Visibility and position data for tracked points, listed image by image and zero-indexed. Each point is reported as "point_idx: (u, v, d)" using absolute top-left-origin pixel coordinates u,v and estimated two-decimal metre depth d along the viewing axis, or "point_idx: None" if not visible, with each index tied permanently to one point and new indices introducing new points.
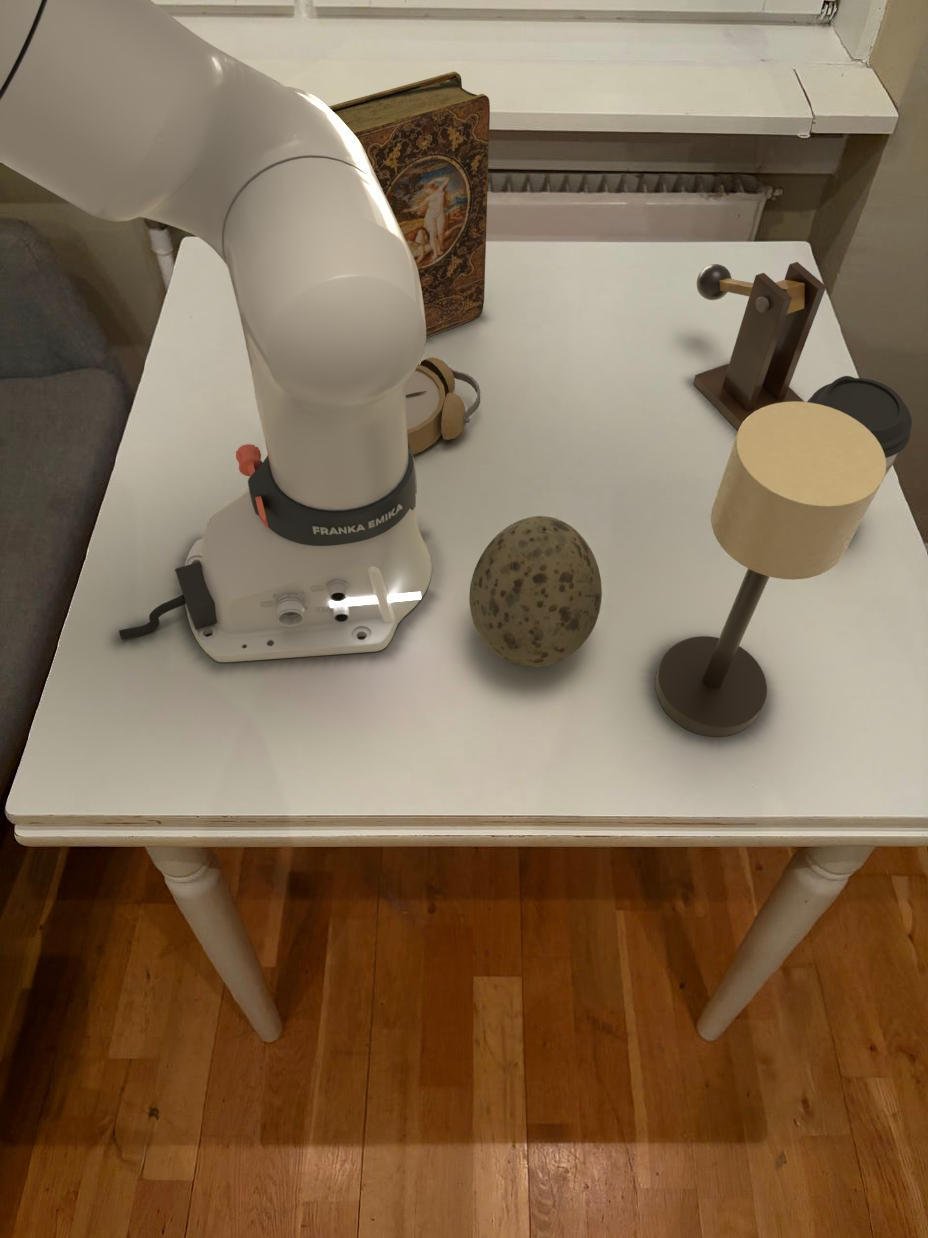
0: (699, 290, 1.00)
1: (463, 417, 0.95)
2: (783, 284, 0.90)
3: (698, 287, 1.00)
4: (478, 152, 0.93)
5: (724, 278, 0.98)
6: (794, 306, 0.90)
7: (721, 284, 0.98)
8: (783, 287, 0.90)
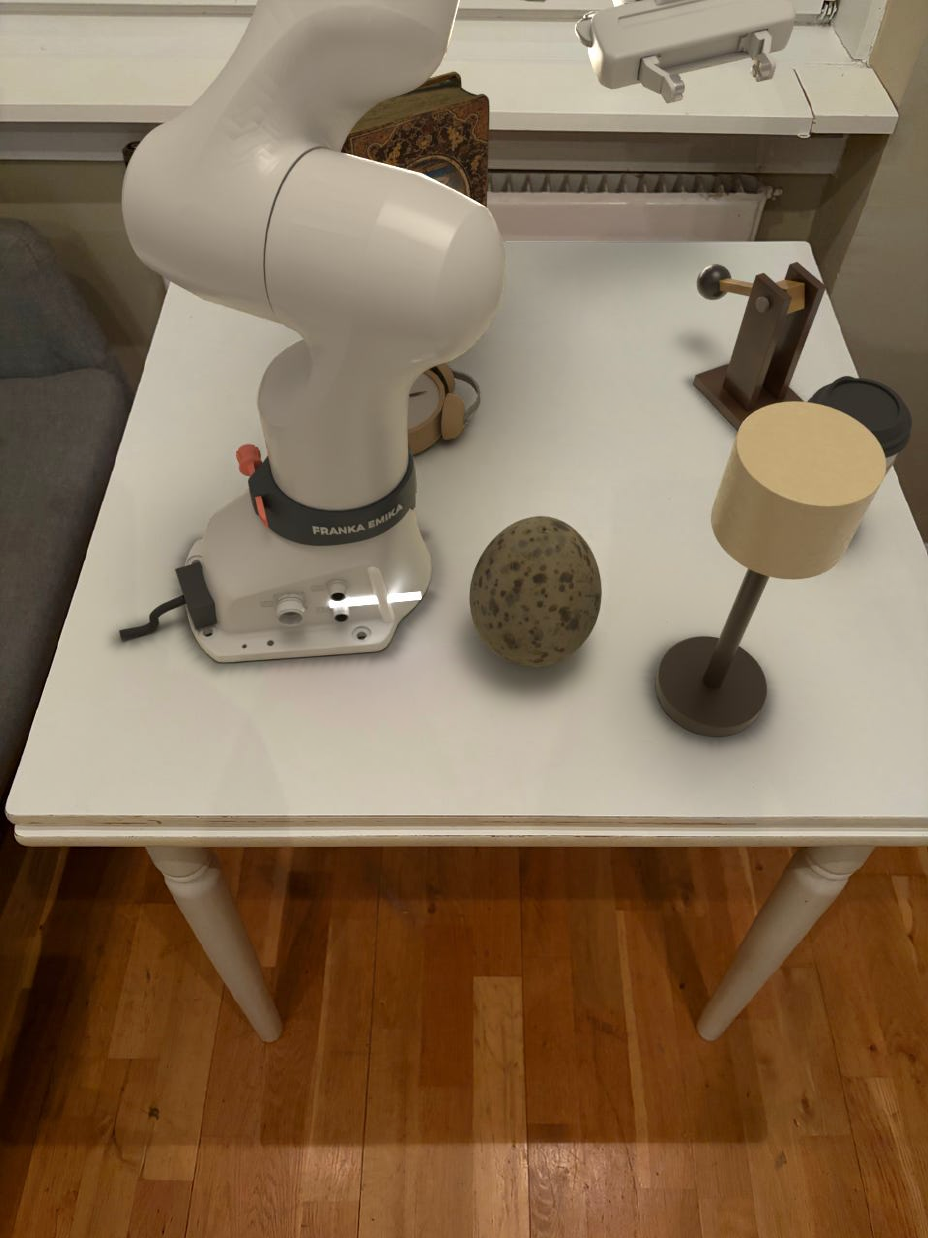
0: (699, 290, 1.00)
1: (463, 417, 0.95)
2: (783, 284, 0.90)
3: (698, 287, 1.00)
4: (478, 151, 0.93)
5: (724, 278, 0.98)
6: (794, 306, 0.90)
7: (721, 284, 0.98)
8: (783, 287, 0.90)
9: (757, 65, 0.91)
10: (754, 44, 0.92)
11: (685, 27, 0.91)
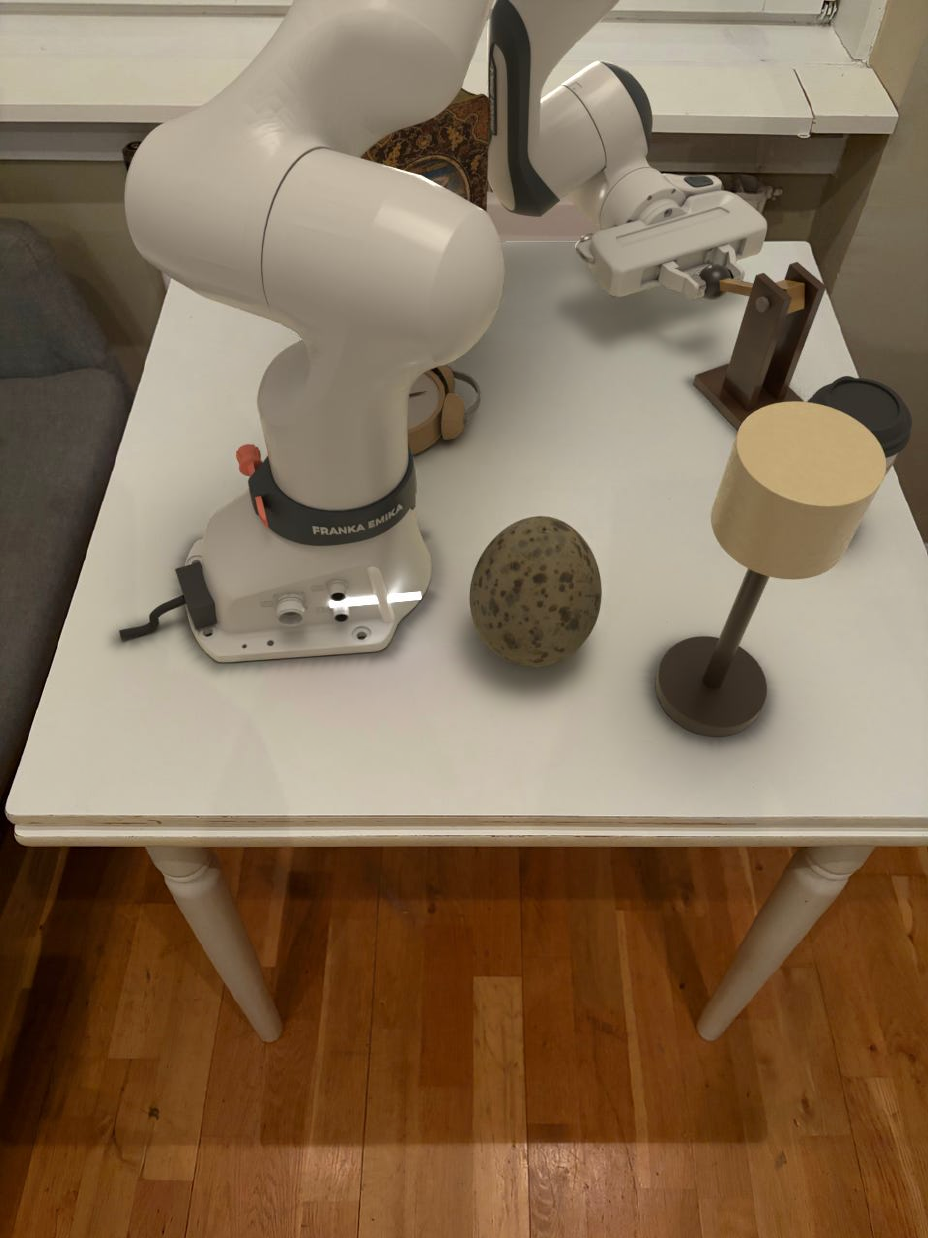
0: None
1: (463, 417, 0.95)
2: (783, 284, 0.90)
3: None
4: (478, 151, 0.93)
5: (724, 278, 0.98)
6: (794, 306, 0.90)
7: (721, 284, 0.98)
8: (783, 287, 0.90)
9: None
10: (719, 256, 1.02)
11: (676, 241, 1.01)
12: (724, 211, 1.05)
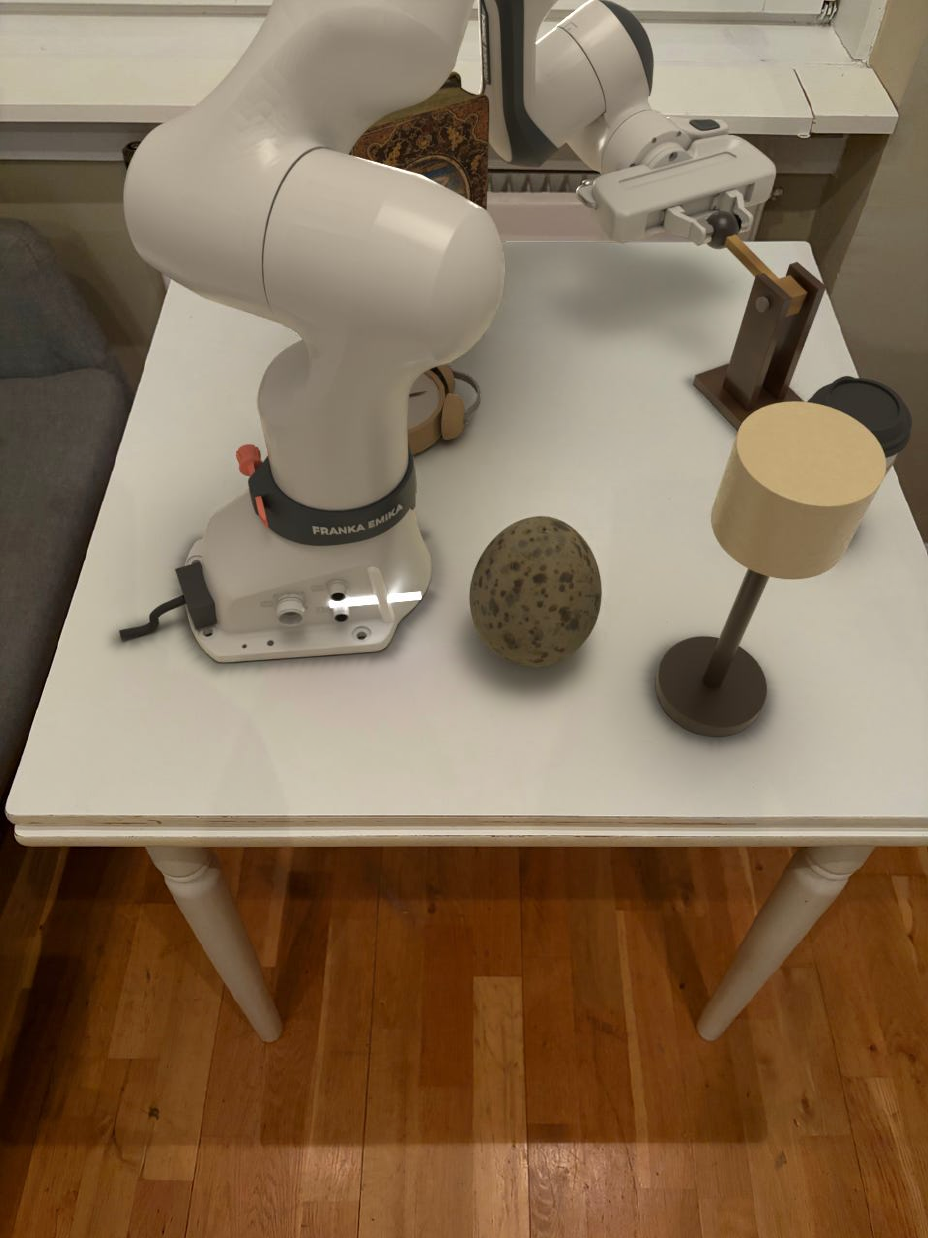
0: None
1: (463, 417, 0.95)
2: (787, 286, 0.90)
3: None
4: (478, 151, 0.93)
5: (732, 234, 0.95)
6: (790, 312, 0.91)
7: (726, 240, 0.95)
8: (787, 293, 0.89)
9: None
10: (727, 202, 0.98)
11: (682, 185, 0.97)
12: (731, 156, 1.01)
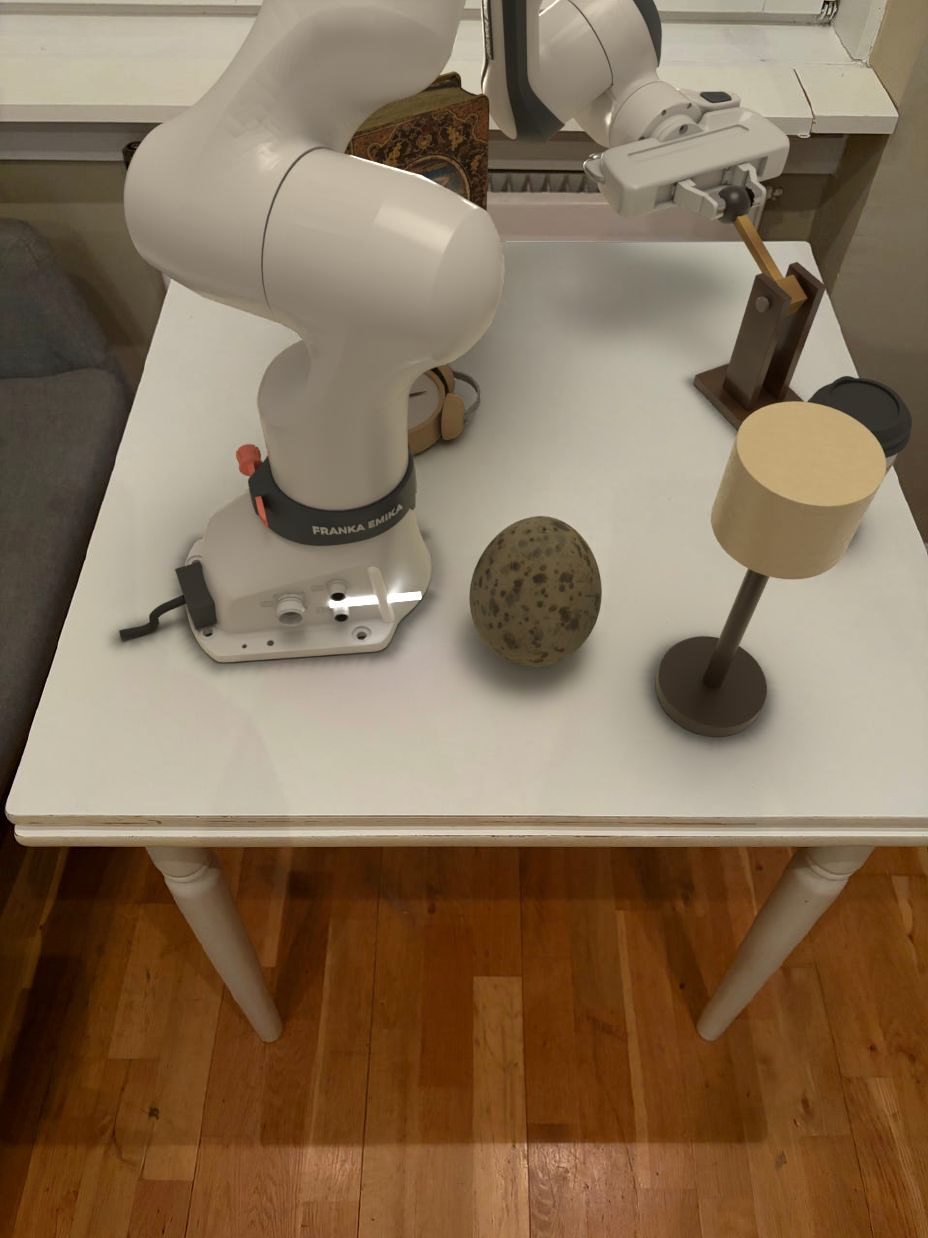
0: None
1: (463, 417, 0.95)
2: (789, 289, 0.90)
3: None
4: (478, 151, 0.93)
5: (742, 215, 0.92)
6: (787, 313, 0.91)
7: (736, 219, 0.93)
8: None
9: (748, 193, 0.93)
10: (739, 176, 0.95)
11: (693, 158, 0.94)
12: (743, 129, 0.98)
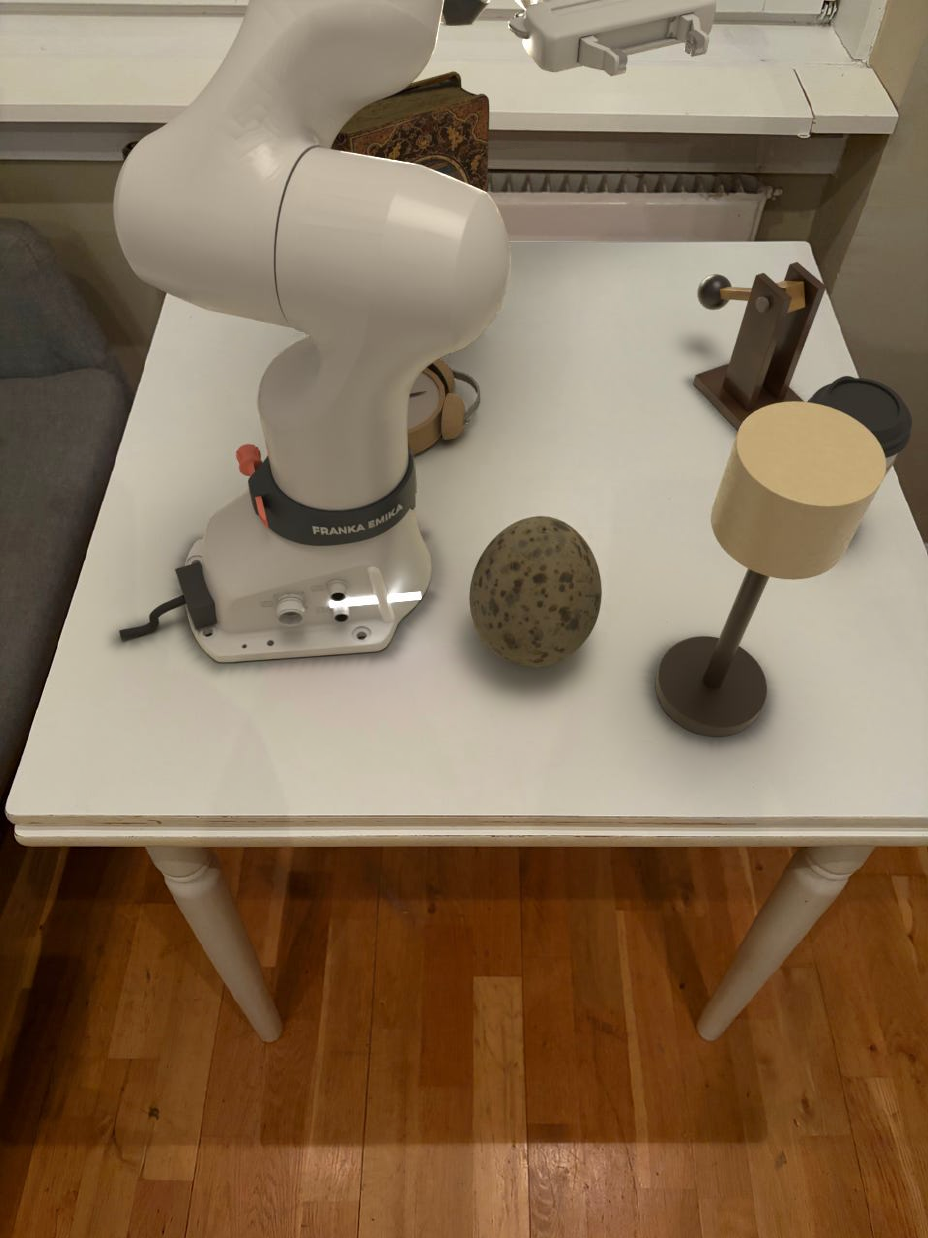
0: (700, 300, 1.00)
1: (463, 417, 0.95)
2: (782, 284, 0.90)
3: (699, 297, 1.00)
4: (478, 151, 0.93)
5: (724, 287, 0.99)
6: (794, 305, 0.90)
7: (721, 293, 0.99)
8: (782, 286, 0.90)
9: (691, 40, 0.93)
10: (683, 26, 0.95)
11: (616, 12, 0.93)
12: None
